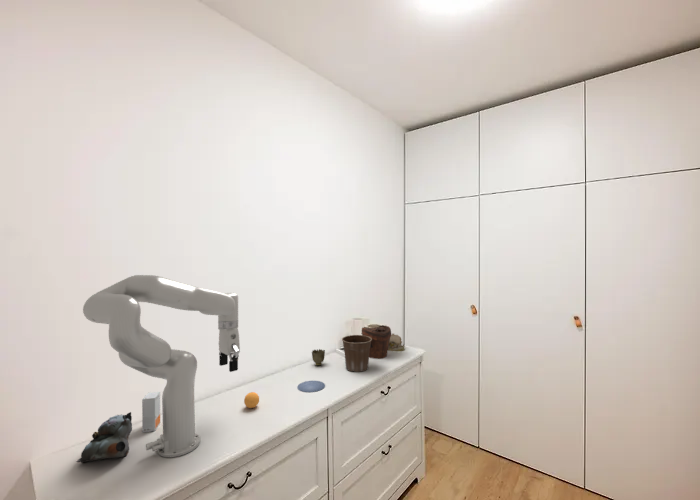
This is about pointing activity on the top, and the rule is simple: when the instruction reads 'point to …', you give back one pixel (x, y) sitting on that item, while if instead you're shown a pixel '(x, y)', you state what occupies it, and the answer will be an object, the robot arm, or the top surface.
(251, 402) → the ball
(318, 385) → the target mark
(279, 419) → the top surface
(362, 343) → the plant pot
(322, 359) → the cup
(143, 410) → the skincare box
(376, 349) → the brown lidded basket
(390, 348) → the ceramic model
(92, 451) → the lucky cat figurine
